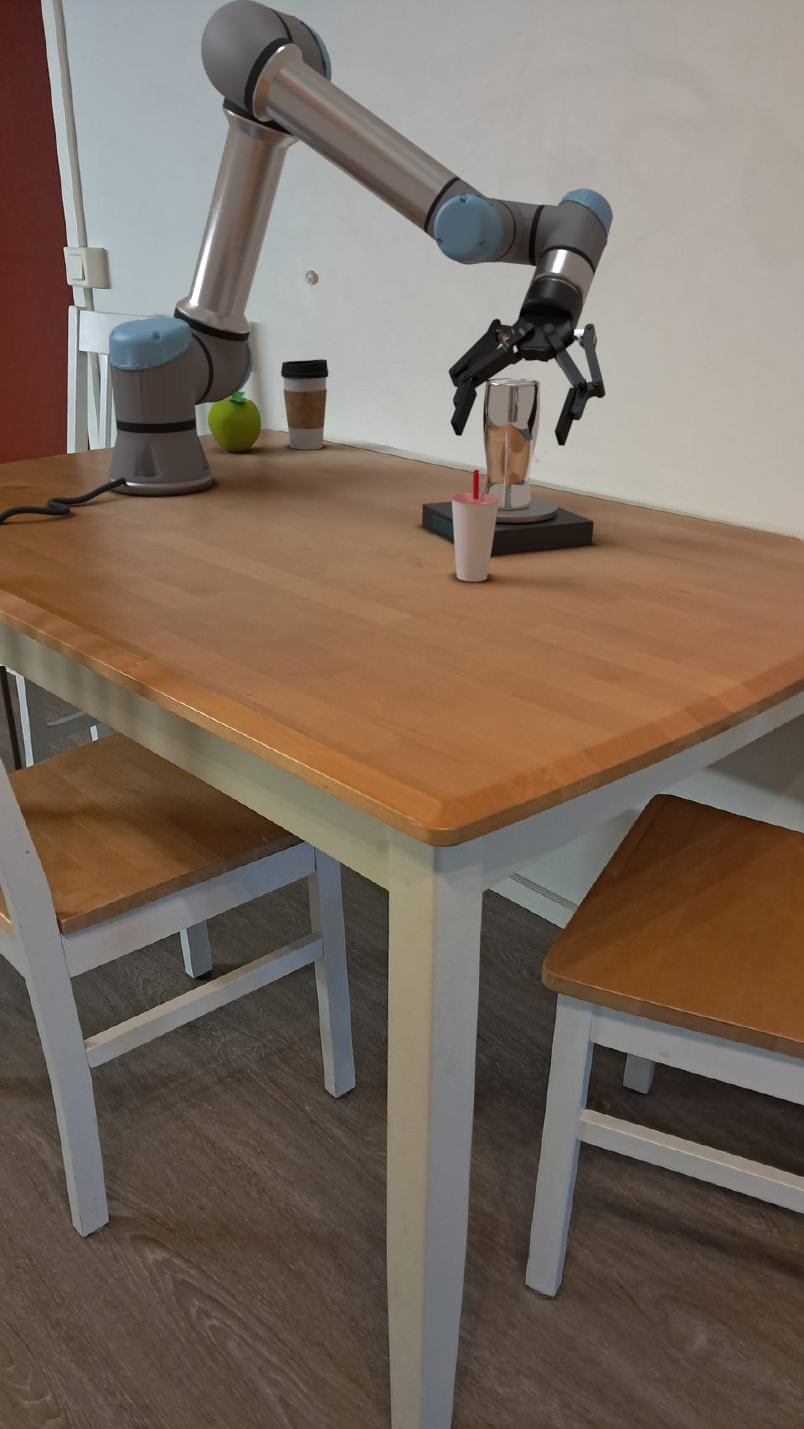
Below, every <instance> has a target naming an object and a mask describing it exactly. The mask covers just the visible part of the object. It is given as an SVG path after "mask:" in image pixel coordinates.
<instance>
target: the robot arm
mask: <svg viewBox="0 0 804 1429" xmlns="http://www.w3.org/2000/svg"><path fill="white" fill-rule="evenodd" d="M200 56H201V60H202V61H201V62H202V66H203V68H204V71H205V74H206V76H207V78H208V80H209V82H210V83H211V85H212V86H213V87H214V88H215V90H216V91H217V92H218V93H219V94H220V95H221V96H223V97H224V98H223V101H222V106H221V110H222V112H223V114H224V116H225V118H226V120H227V123H228V130H227V134H226V139H225V143H224V145H223V146H224V147H223V151H222V155H221V158H220V163H219V168H218V172H217V175H216V180H215V183H214V184H215V186H214V189H213V192H212V193H213V194H212V197H211V202H210V205H209V209H208V213H207V218H206V223H205V226H204V230H203V234H202V240H201V244H200V248H199V252H198V256H197V259H196V265H195V268H194V269H195V270H194V273H193V277H192V281H191V285H190V290H189V294H188V295H187V296H185V297H183V298H182V299H180V300H178V301H177V302H176V304H175V307H174V311H173V316H172V317H150V318H145V319H134V320H129V321H125V322H122V323H119V324H117V325H116V326H114V327H113V328H112V329H111V330H110V332H109V335H108V355H107V356H108V357H107V358H108V362H109V367H110V376H111V385H112V386H111V387H112V396H113V397H112V398H113V406H114V408H113V409H114V417H115V427H116V429H115V430H116V437H115V442H114V446H113V449H112V450H113V451H112V455H111V460H110V465H109V469H108V475H107V476H108V478H107V479H108V483H105V484H103V485H101V486H99V487H97V488H95V489H93V490H92V491H90V492H88V493H86V494H83V495H80V496H76V497H75V496H74V497H51V498H50V499H47V501H46V505H47V506H48V507H44V506H43V507H42V506H33V505H32V506H30V505H25V506H24V505H23V506H15V507H11V508H8V509H6V510H3V512H1V513H0V525H2V524H3V523H4V521H6V520H7V519H9V518H10V517H13V516H16V515H22V514H32V515H43V516H56V517H57V516H58V517H59V516H65V515H68V514H69V513H70V512H71V508H70V505H79V504H83V503H87V502H90V500H91V501H92V500H93V499H95V498H97V497H98V496H100V495H102V494H104V493H106V492H108V491H111V490H112V491H115V492H118V493H122V494H128V495H135V496H136V495H137V496H171V495H172V496H173V495H181V494H183V495H184V494H190V493H194V492H195V493H196V492H199V491H202V490H206V489H208V488H209V487H211V486H212V485H213V473H212V469H211V466H210V464H209V461H208V458H207V455H206V453H205V450H204V448H203V446H202V443H201V440H200V437H199V434H198V428H197V413H196V406H199V405H204V404H207V403H209V404H211V403H212V404H214V403H215V402H218V401H222V400H223V399H227V398H231V396H232V395H234V394H235V393H237V392H240V391H241V390H242V389H243V387H244V386H245V385H246V384H247V383H248V381H249V379H250V376H251V374H252V370H253V365H254V355H253V350H252V348H251V347H250V341H249V337H250V333H251V328H252V326H251V324H250V323H249V320H248V318H247V316H246V315H245V314H246V310H247V306H248V301H249V297H250V295H251V290H252V286H253V282H254V279H255V275H256V271H257V268H258V263H259V260H260V256H261V253H262V248H263V245H264V242H265V238H266V234H267V231H268V230H267V229H268V226H269V222H270V219H271V216H272V215H271V214H272V212H273V207H274V204H275V200H276V195H277V192H278V188H279V184H280V182H281V181H280V180H281V177H282V173H283V169H284V166H285V162H286V158H287V154H288V151H289V149H290V148H291V147H292V146H294V145H296V144H297V143H299V142H302V143H303V144H304V145H306V146H308V147H309V148H310V149H312V150H313V151H314V152H315V153H317V154H319V155H320V156H321V157H322V158H324V159H325V160H327V162H329V163H331V164H332V165H333V166H335V167H336V168H338V170H340V171H342V172H343V173H344V174H346V175H347V176H348V177H350V179H352V180H353V181H355V182H357V183H358V184H359V185H360V186H362V187H363V188H365V189H366V190H367V191H369V192H370V193H371V194H373V195H374V196H375V197H376V198H378V199H380V201H382V202H383V203H385V204H386V205H387V206H389V207H390V208H392V209H393V210H394V211H396V212H397V213H399V214H400V215H401V216H402V217H404V218H405V219H406V220H408V221H409V222H411V223H412V224H413V225H414V226H416V227H417V228H419V229H420V230H421V231H423V232H424V233H425V234H426V235H428V236H429V237H430V238H431V239H432V240H434V241H435V242H436V244H437V246H438V248H439V250H440V251H441V253H442V254H443V255H444V256H445V257H447V258H448V259H449V260H452V261H454V262H457V263H459V264H461V265H469V266H470V265H471V266H472V265H479V264H483V263H484V264H485V263H486V264H487V263H503V264H505V263H506V264H515V265H523V266H524V265H525V266H532V267H535V270H534V272H533V275H532V277H531V279H530V282H529V286H528V289H527V291H526V293H525V296H524V299H523V301H522V305H521V306H520V310H519V314H518V317H517V320H516V321H515V322H514V323H513V324H512V325H509V324H502V322H501V319H500V318H495V319H493V320H492V321H491V322H490V324H489V326H488V329H487V331H486V332H485V333H484V334H483V335H482V336H480V338H479V339H477V341H476V342H475V343H473V345H472V346H471V347H470V348H469V349H468V350H467V351H466V352H465V353H463V355H462V356H461V357H460V358H459V359H458V360H457V361H456V362H455V363H453V365H452V366H451V367H450V368H449V370H448V375H449V377H450V380H451V382H452V386H453V387H454V388H456V390H455V393H454V395H453V398H452V404H453V406H454V411H453V414H452V416H451V420H450V425H451V428H452V430H453V432H454V434H455V436H456V437H457V436H459V437H462V436H463V433H464V430H465V428H466V425H467V422H468V420H469V417H470V415H471V412H472V409H473V407H474V404H475V401H476V398H477V396H478V392H477V390H476V389H478V388H479V387H480V386H481V385H483V384H484V383H486V381H487V380H490V379H492V378H493V377H495V375H497V374H499V373H500V372H502V371H503V370H504V369H506V368H507V367H509V366H510V365H517V364H518V363H519V362H521V361H522V360H524V361H525V362H534V361H539V362H542V363H549V361H551V360H554V361H555V362H556V363H557V365H558V367H559V369H561V370H562V372H563V373H564V375H565V377H566V379H567V380H568V382H569V384H570V385H571V386H572V387H571V386H570V387H569V389H568V391H567V394H566V396H565V400H564V403H563V406H562V409H561V412H560V414H559V418H558V420H557V422H556V423H557V424H556V425H555V429H554V434H555V438H556V442H557V445H558V446H561V447H562V446H563V447H565V446H566V443H567V439H568V436H569V434H570V431H571V428H572V425H573V423H574V421H580V420H581V419H582V418H583V414H584V411H585V409H586V406H587V402H588V401H589V400H590V399H591V398H595V397H596V398H597V399H602V398H604V397H605V396H606V389H605V384H604V379H603V375H602V371H601V367H600V364H599V359H598V355H597V351H596V348H597V343H598V337H597V332H596V328H595V325H594V323H587V324H586V325H585V326H584V328H578V329H577V327H578V324H579V321H580V318H581V315H582V313H583V310H584V306H585V303H586V301H587V298H588V295H589V292H590V290H591V287H592V283H593V280H594V277H595V274H596V272H597V268H598V267H599V263H600V261H601V259H602V256H603V253H604V251H605V248H606V246H607V245H608V239H609V238H608V237H609V234H610V231H611V227H612V224H613V219H614V214H613V209H612V207H611V204H610V202H609V201H608V200H607V198H605V197H604V196H603V195H602V194H600V193H599V192H598V191H595V190H593V189H590V188H577V189H575V190H572V191H568V192H567V193H566V194H564V195H563V197H562V198H561V200H560V202H559V203H558V204H557V205H554V204H537V203H529V202H521V201H514V200H508V199H507V200H505V199H500V198H499V199H498V198H495V197H487V195H484V194H483V193H482V192H480V191H479V190H478V189H476V188H475V187H474V186H472V185H471V184H470V183H468V182H466V181H465V180H463V179H462V178H461V177H460V176H459V175H457V174H456V173H454V172H453V171H452V170H450V169H449V168H447V167H446V166H445V165H443V164H442V163H441V162H440V161H438V160H437V159H435V158H434V157H433V156H431V155H430V154H429V153H428V152H426V151H425V150H423V149H422V148H420V147H419V146H418V145H416V144H415V143H414V142H412V141H411V140H409V139H408V137H405V135H403V134H402V133H400V132H399V131H397V130H396V129H395V128H393V127H392V126H391V125H389V123H387V122H386V121H384V120H383V119H381V118H380V117H378V115H376V114H374V112H372V111H371V110H369V109H368V108H367V107H365V106H363V104H361V103H360V102H358V101H357V100H356V99H354V98H353V97H352V96H350V94H347V93H346V92H345V91H344V90H342V89H341V88H339V87H338V86H337V85H336V84H334V83H332V63H331V56H330V54H329V51H328V49H327V46H326V44H325V42H324V40H323V39H322V37H321V36H320V35H319V34H318V32H317V31H316V30H315V29H313V28H312V27H311V26H310V25H308V24H307V23H306V22H305V21H303V20H302V19H299V18H298V17H296V16H295V15H290V14H287V13H284V12H282V11H279V10H277V9H274V8H273V7H269V6H266V5H265V4H263V3H261V2H258V1H254V0H232V1H229V2H227V3H225V4H223V5H221V6H220V7H219V8H218V9H216V10H215V11H214V12H213V13H212V15H211V16H210V17H209V18H208V21H207V22H206V24H205V26H204V29H203V32H202V36H201V42H200ZM575 342H578V346H579V347H580V348H582V349H583V350H584V354H585V358H586V362H587V367H588V371H589V374H590V378H591V381H587V378H586V377H585V378H584V375H582V372H581V371H580V370H579V368H578V366H577V364H576V363H575V361H574V360H573V358H572V356H571V355H570V353H569V351H568V350H567V349H568V348H569V347H571V346H572V345H573V344H574V343H575ZM500 345H501V346H500ZM514 347H515V349H516V351H515V349H514ZM7 671H8V670H7V666H6V667H5V666H0V685H1V691H2V697H3V703H4V709H5V714H6V715H5V716H6V720H7V727H8V732H9V738H10V744H11V751H12V756H13V764H14V771H15V772H16V770H19V769H22V770H23V764H22V758H21V752H20V745H19V739H18V732H17V727H16V722H15V714H14V710H13V703H12V697H11V692H10V684H9V678H8V672H7Z"/></svg>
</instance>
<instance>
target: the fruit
mask: <svg viewBox="0 0 804 1429" xmlns="http://www.w3.org/2000/svg"><path fill="white" fill-rule="evenodd" d="M245 393H246V391H238V392H237V393H235V394H234V395H232V396H230V397H228V398H226V399H223V400H222V401H218V402H213V403H212V405H211V407H210V409H209V411H208V414H207V425H208V429H209V431H210V434H211V435H212V437H213V439H214V441H215V442H216V443H217V444H218V446H219V447H220V448H221V449H223V450H225V451H229V452H233V453H235V452H236V453H239V452H244V451H248V450H249V449H251V447H253V445H254V444H255V443H257V440H258V439H259V437H260V435H261V431H262V419H261V418H262V417H261V414H260V410H259V408H258V406H257V405H256V403H255V402H254V401H253V400H251V399H248V398H246V397H243V396H245Z"/></svg>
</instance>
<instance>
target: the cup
mask: <svg viewBox="0 0 804 1429" xmlns="http://www.w3.org/2000/svg"><path fill="white" fill-rule="evenodd" d="M450 500H451V502H452V511H453V528H454V543H453V544H454V558H455V559H454V560H455V571H456V572H455V574H456V578H457V579H458V580H461V581H463V582H464V581H465V582H474V583H475V582H482V581H485V580H487V579H488V574H489V568H490V563H491V550H492V543H493V536H494V529H495V523H496V516H497V509H498V502H499V500H500V498H499V497H497V496H494V495H490V494H484V492H483V493H481V492H480V470H479V469H474V470H473V472H472V492H463V493H457V494H453V495H451V496H450Z"/></svg>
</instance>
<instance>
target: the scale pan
mask: <svg viewBox="0 0 804 1429" xmlns="http://www.w3.org/2000/svg"><path fill="white" fill-rule="evenodd" d="M530 500H531V504H530V506H529V507H527V508H524V509H515V510H504V509H497V516H496V522H497V523H529V522H538V521H543V520H548V519H551V518H553V517H555V516H556V515H557V512H558V507H559V506H558V504H557V503H555V502H554V501H552V500H549V499H547V498H543V497H540V496H539V497H538V496H533V495H530Z"/></svg>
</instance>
